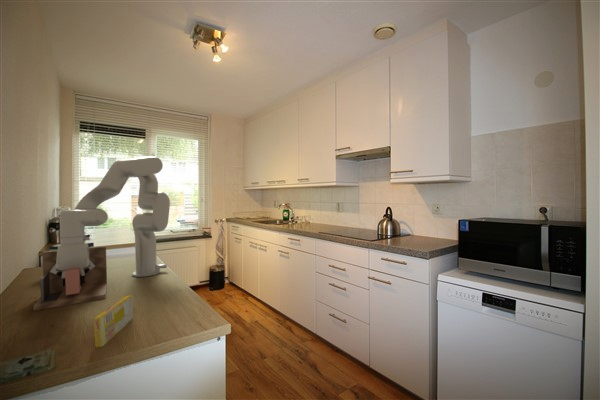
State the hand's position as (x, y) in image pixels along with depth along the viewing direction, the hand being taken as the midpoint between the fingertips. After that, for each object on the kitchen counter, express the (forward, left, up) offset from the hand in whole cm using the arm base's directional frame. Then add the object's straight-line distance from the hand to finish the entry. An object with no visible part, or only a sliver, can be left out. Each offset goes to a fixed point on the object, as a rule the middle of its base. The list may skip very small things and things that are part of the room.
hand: (74, 285), depth 111 cm
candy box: (-14, +43, -5) cm, 46 cm away
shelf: (0, -1, -5) cm, 5 cm away
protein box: (+5, -44, -5) cm, 44 cm away
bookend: (+7, 0, -3) cm, 8 cm away
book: (0, 0, -2) cm, 2 cm away
